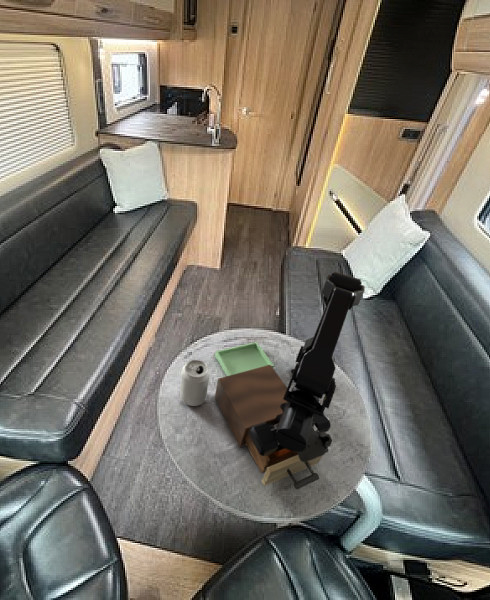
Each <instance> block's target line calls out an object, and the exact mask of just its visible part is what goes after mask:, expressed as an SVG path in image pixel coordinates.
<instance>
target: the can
mask: <svg viewBox="0 0 490 600" xmlns="http://www.w3.org/2000/svg"><path fill="white" fill-rule="evenodd" d="M210 377H211V370H210V367H209V366H208V364H207V363H206V362H205V361H203V360H201V359H196V358H195V359H190V360H188V361H187V362H186V363H185V364H184V365H183V366H182V368H181V376H180V387H179V397H180V400H181V401H182V402H183V403H184V404H185V405H188V406H191V407H197V406H200V405H202V404H203V403H204V402H205V401H206V399H207V395H208V390H209V382H210Z"/></svg>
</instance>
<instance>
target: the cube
mask: <svg viewBox="0 0 490 600" xmlns="http://www.w3.org/2000/svg"><path fill="white" fill-rule="evenodd" d="M290 452H291V451H290V450H288V449H286V448H285V449H282V450H279V451H277V452H276V453H274V454H275V456H276V458H277V457H280V456H282V455H285V454H287V453H290Z"/></svg>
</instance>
